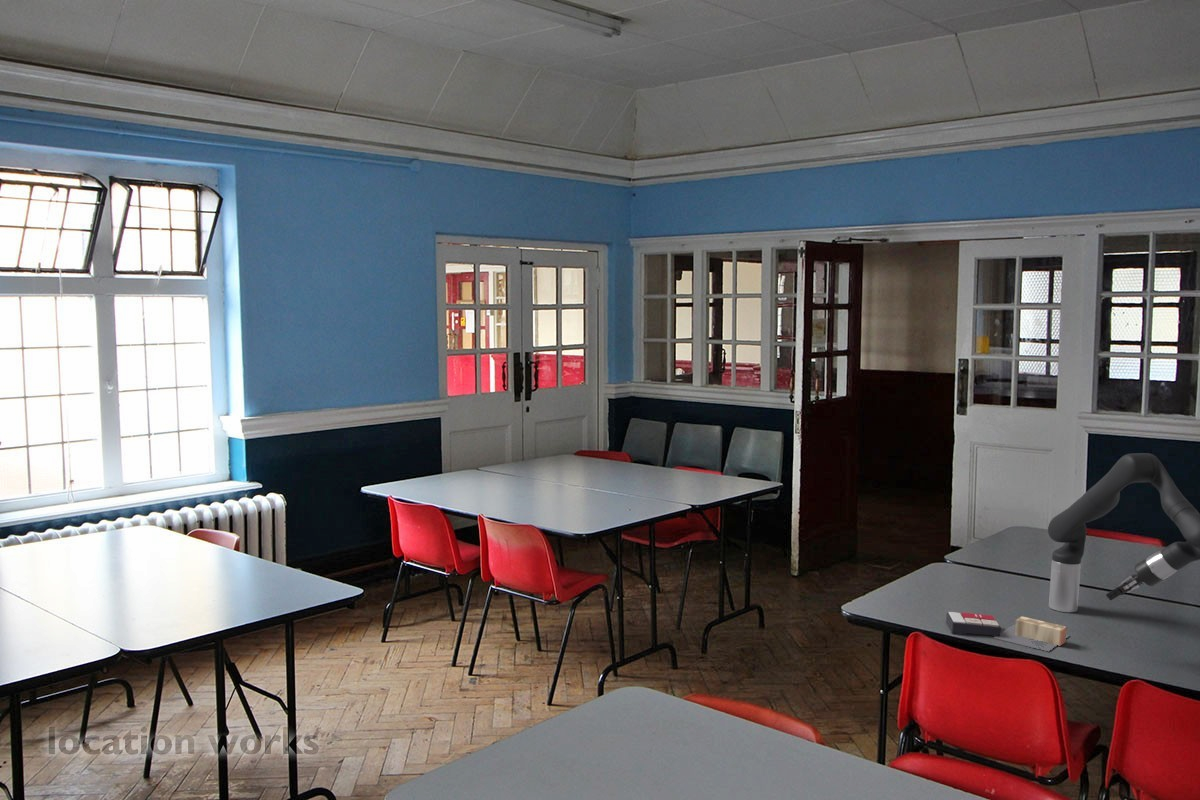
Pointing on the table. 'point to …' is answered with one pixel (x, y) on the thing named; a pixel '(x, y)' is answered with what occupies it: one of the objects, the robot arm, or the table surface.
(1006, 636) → the mat
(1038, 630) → the tall block
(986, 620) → the red white grey box
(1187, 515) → the robot arm
